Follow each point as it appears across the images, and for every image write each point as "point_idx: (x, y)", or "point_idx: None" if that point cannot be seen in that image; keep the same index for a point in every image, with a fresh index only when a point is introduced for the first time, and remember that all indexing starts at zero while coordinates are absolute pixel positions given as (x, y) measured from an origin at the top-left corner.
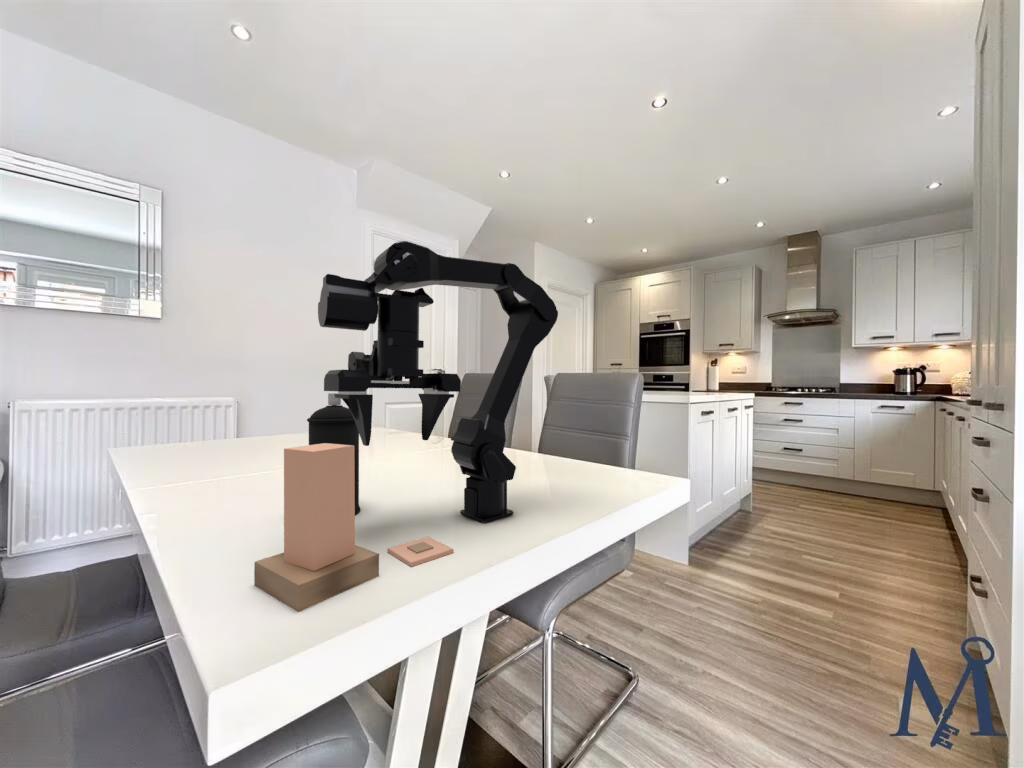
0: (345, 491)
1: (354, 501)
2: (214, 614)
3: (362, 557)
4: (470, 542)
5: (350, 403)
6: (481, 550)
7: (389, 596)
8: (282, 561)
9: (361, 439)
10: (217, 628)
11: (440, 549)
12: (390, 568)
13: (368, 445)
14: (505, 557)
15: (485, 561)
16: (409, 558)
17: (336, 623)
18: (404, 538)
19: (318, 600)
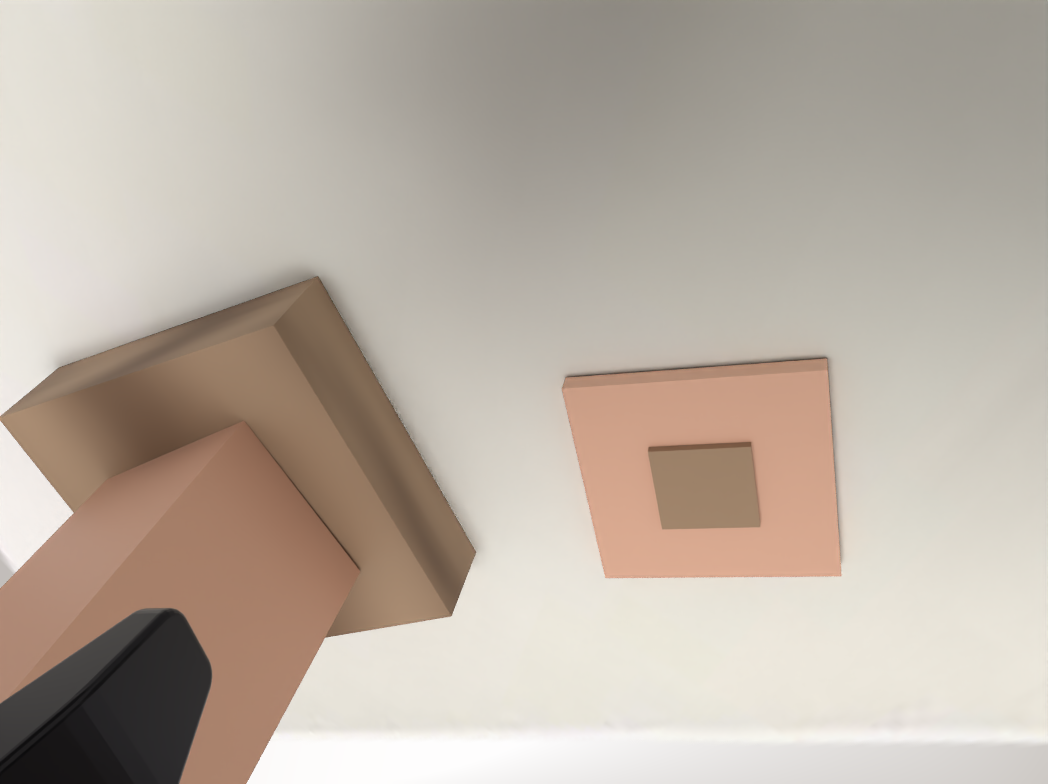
0: None
1: (257, 760)
2: (13, 484)
3: (386, 608)
4: (1005, 515)
5: None
6: (973, 613)
7: (477, 674)
8: (101, 474)
9: (81, 658)
10: None
11: (783, 547)
12: (531, 526)
13: (208, 673)
14: (1003, 713)
15: (901, 690)
16: (613, 546)
17: (327, 694)
18: (719, 252)
19: None
